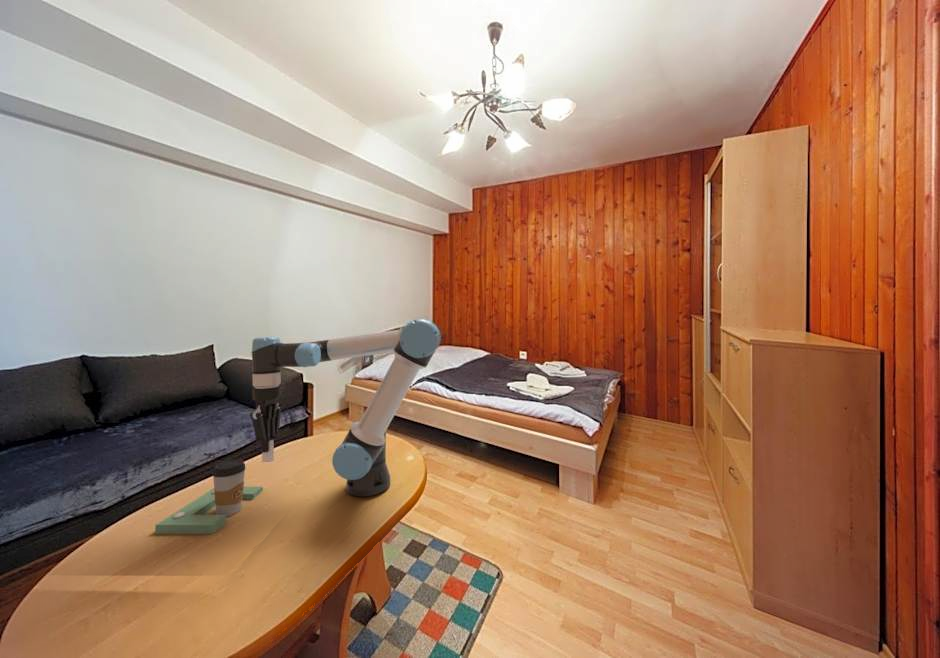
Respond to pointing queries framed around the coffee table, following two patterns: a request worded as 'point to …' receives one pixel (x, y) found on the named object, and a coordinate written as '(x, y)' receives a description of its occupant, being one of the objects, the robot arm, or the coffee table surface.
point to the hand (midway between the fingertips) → (268, 460)
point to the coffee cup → (229, 486)
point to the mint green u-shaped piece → (199, 515)
